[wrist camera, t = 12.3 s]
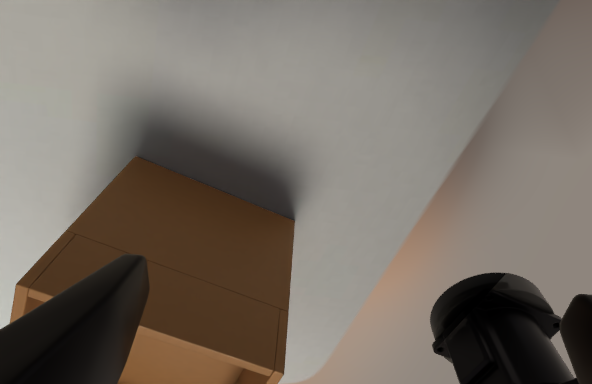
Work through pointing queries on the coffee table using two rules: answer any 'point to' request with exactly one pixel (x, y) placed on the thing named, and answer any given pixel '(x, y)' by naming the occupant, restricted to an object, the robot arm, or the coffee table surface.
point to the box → (183, 276)
